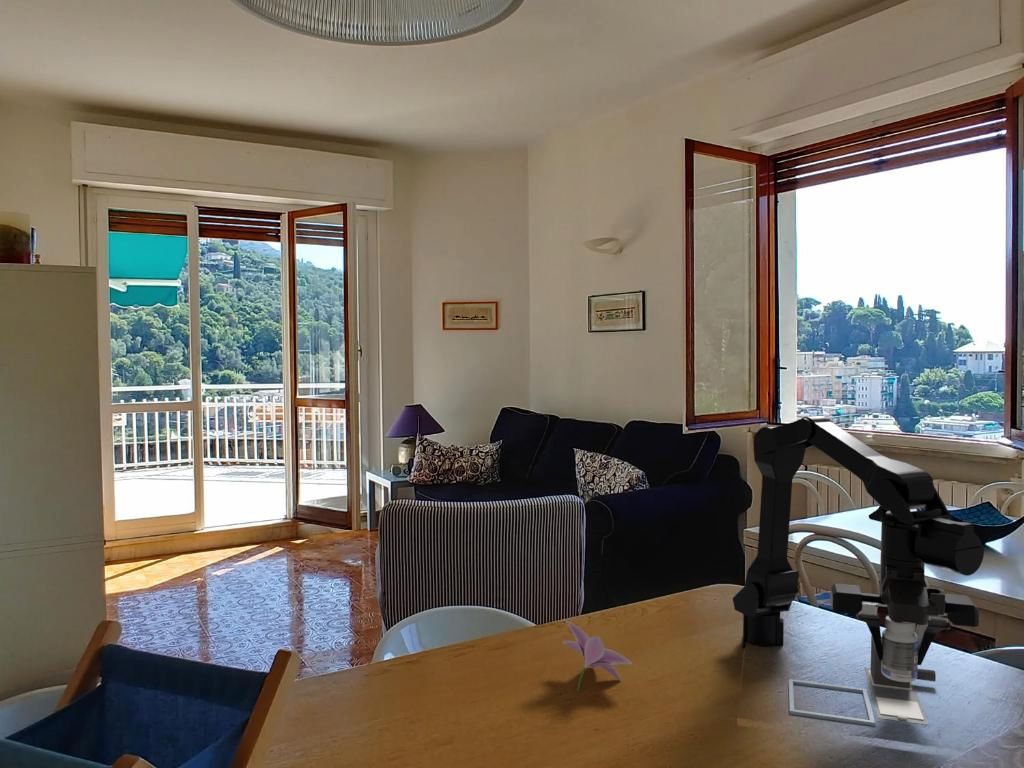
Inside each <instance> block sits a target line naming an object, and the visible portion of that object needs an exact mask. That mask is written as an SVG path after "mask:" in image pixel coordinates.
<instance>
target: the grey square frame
mask: <svg viewBox="0 0 1024 768" xmlns="http://www.w3.org/2000/svg"><path fill="white" fill-rule="evenodd" d="M794 685H799V686H806V687H815V688H820V689H822V688H823V689H829V690H837V691H844V692H845V691H846V692H853V693H860V694H862V696H863V700H864V704H865V709H866V713H867V716H868V719H864V718H863V719H862V718H855V717H849V716H843V715H836V714H835V715H834V714H830V713H829V714H828V713H822V712H821V713H820V712H814V711H806V710H801V709H800V710H799V709H795V701H794V700H795V698H794V697H795V696H794ZM788 698H789V699H788V706H789V715H794V716H801V717H802V716H803V717H808V718H816V719H824V720H830V721H831V720H832V721H838V722H845V723H852V724H857V725H858V724H859V725H865V726H870V727H871V726H873V727H875V726H876V721H875V718H874V713H873V709H872V705H871V701H870V697H869V694H868V690H867V688H863V687H862V688H860V687H854V686H846V685H838V684H830V683H822V682H817V681H807V680H799V679H792V678H789V679H788Z"/></svg>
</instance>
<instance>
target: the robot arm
mask: <svg viewBox="0 0 1024 768" xmlns="http://www.w3.org/2000/svg"><path fill="white" fill-rule="evenodd" d="M752 444H753V456H754V457H753V459H754V463H755V465H756V466H757V469H758V470H759V472H760V474H761V476H762V478H761V491H760V492H761V494H760V511H759V525H758V527H759V528H758V541H757V542H758V543H757V555H756V556H755V558H754V560H753V561H752V563H751V564H750V565H749V567H748V569H747V573H746V577H745V582H744V587H742V588H741V589H740V590H739V591H738V592H737V593H735V595H734V596H733V597H732V602H733V607H734V610H735V611H737V612H739V613H741V614H742V639H741V648H742V649H746V645H747V644H749V645H753V646H756V647H765V648H771V647H775V646H776V647H780V646H781V647H783V646H784V633H785V631H784V630H785V629H784V625H785V624H784V623H785V622H784V619H783V618H782V617H781V613H782V612H789V611H790V609H791V605H792V602H794V601H795V599H796V595H797V594H799V593H800V590H799V579H800V573H799V571H798V570H795V569H794V568H793V566H792V564H791V563H790V561H789V559H788V554H789V553H788V552H789V549H788V548H789V534H790V524H791V523H790V522H791V521H790V520H791V505H792V489H793V478H794V477H795V475H796V474H797V472H798V470H799V469H800V468H801V466H802V464H803V463H804V458H805V453H806V450H807V449H810V448H812V447H815V448H816V449H817V450H819V451H820V452H822V453H823V454H824V455H826V456H827V457H829V458H831V460H833V461H834V462H835V463H837V464H838V465H840V466H841V467H843V468H844V469H846V471H848V472H850V473H851V474H853V475H854V476H855V477H856V478H858V479H859V480H860V481H861V482H862V483H863V485H864V489H865V491H866V493H867V494H868V495H869V496H870V497H871V498H872V499H873V500H874V501H875V502H876V503H877V504H878V505H879V507H878V508H877V509H876V510H875V511H873V512H871V513H869V514H868V519H869V520H871V521H876V522H879V523H881V530H880V531H881V533H880V563H879V567H880V568H879V594H878V593H877V594H876V593H867V592H866V593H864V592H862V591H861V589H860V585H857V584H847V583H837V582H835V583H833V584H832V585H831V586H830V595H829V596H830V597H829V601H830V605H831V611H832V612H834V613H837V614H838V613H839V614H846V615H848V614H849V615H855V616H856V618H857V620H858V621H864V622H865V623H866V626H867V627H868V630H869V632H870V635H871V636H872V638H873V641H874V645H875V648H876V652H877V655H878V658H879V660H880V661H882V654H883V651H882V641H881V637H882V632H881V619H880V616H879V614H878V609H883V610H887V612H888V616H889V618H890V619H891V620H892V621H894V622H897V623H902V622H908V623H916V626H917V625H918V634H917V636H918V666H922V664H923V662H924V661H925V657H926V655H927V653H928V651H929V648H930V646H931V644H932V642H933V640H934V639H935V637H937V634H938V633H939V632H942V630H950V629H951V624H950V623H952V624H953V625H954V626H962V627H970V628H971V627H972V628H976V627H979V625H980V624H979V621H980V620H979V619H980V618H979V617H980V615H979V614H980V613H979V608H978V607H977V606H976V604H975V603H974V602H973V600H972V599H971V598H970V597H969V596H968V595H964V594H963V595H962V594H953V593H945V590H944V588H939V587H937V588H936V587H928V586H927V583H926V580H925V578H926V577H925V568H926V567H925V565H929V566H931V567H935V568H939V569H942V570H945V571H948V572H951V573H952V572H953V573H956V574H958V575H963V576H967V577H968V576H971V575H973V574H975V573H976V572H977V571H978V570H979V568H980V567H981V565H982V563H983V559H984V553H985V548H984V546H983V543H982V541H981V538H980V537H979V536H978V535H977V534H976V533H975V532H974V530H975V529H974V528H975V527H974V526H975V525H974V524H973V523H971V522H965V521H961V522H960V521H954V520H952V514H951V513H950V512H949V510H948V508H947V506H946V504H945V503H944V501H943V500H942V498H941V496H940V494H939V493H938V491H937V489H936V486H935V484H934V478H933V477H932V476H931V474H930V473H928V472H927V471H926V470H923V469H921V468H919V467H917V466H915V465H912V464H910V463H907V462H904V461H900V460H896V459H892V458H889V457H887V456H884V455H882V454H880V453H879V452H877V450H875V449H873V448H872V447H870V446H869V445H867V444H865V443H864V442H862V441H861V440H859V439H858V438H856V437H855V436H853V434H852V435H851V433H848V432H847V431H845V430H844V429H842V428H841V427H839V426H838V425H837V424H834V422H833V421H832V419H831V418H829V417H827V416H824V415H820V416H819V415H818V416H816V415H815V416H804V417H802V418H800V419H797V420H795V421H792V422H789V423H785V424H781V425H776V426H763V427H761V428H759V429H758V431H757V432H755V434H754V436H753V443H752ZM923 508H925V509H923ZM919 509H920V510H919Z"/></svg>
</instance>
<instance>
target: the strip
mask: <svg viewBox="0 0 1024 768" xmlns="http://www.w3.org/2000/svg"><path fill="white" fill-rule="evenodd" d="M864 671H865V675H866V678H867V679H866V680H867V682H868V686H869V690H870V694H871V699H872V701H873V705H874V709H875V713H876V716H877V719H882V720H888V721H897V722H903V723H910V724H916V725H917V724H918V725H925V726H929V725H930V724H929V721H928V718H927V715H926V714H925V712H924V711H925V710H924V708H923V706H922V704H921V701H920V699H919V696H918V694H917V691H916V688H915V687H914V683H913V682H910V688H902V687H894V686H886V685H878V684H874V682H873V678H872V675H871V667H870V668H869V667H864Z"/></svg>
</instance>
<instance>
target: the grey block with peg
mask: <svg viewBox="0 0 1024 768" xmlns="http://www.w3.org/2000/svg"><path fill="white" fill-rule="evenodd" d="M881 641H882V636H881ZM870 647H871V648H870V669H871V675H872V678H873V682H874V684H878V685H886V686H894V687H902V688H910V682H900V681H895V680H891V679H889V678H887V677H885V676H884V675H883V674H882V671H881V664H882V661H880V660H879V658H878V655H877V652H876V648H875V645H874V641H873V638H872V635H871V636H870ZM936 674H937V673H936V671H935V670H934V669H933V670H931V669H923V668H918V672H917V679H916V680H920V681H926V682H927V681H928V682H936V679H937V678H936V677H937V676H936Z"/></svg>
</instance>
